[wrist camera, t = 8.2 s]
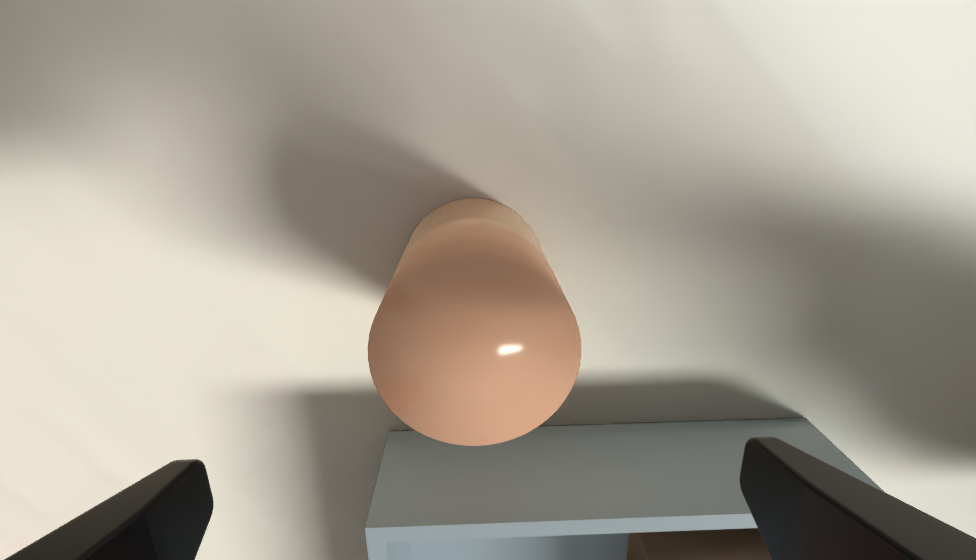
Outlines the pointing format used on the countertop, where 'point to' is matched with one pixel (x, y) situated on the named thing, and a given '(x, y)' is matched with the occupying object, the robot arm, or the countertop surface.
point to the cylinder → (474, 329)
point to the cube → (698, 545)
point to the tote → (569, 488)
